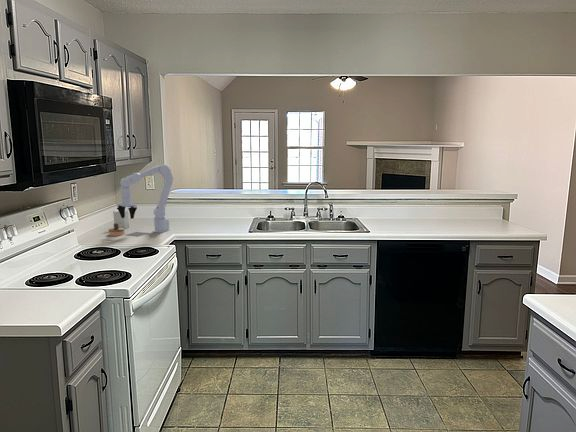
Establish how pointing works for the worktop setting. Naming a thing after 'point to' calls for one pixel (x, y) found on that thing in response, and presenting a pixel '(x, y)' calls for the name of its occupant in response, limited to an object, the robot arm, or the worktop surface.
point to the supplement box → (121, 219)
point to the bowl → (116, 233)
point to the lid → (116, 228)
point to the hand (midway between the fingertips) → (127, 218)
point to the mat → (137, 234)
